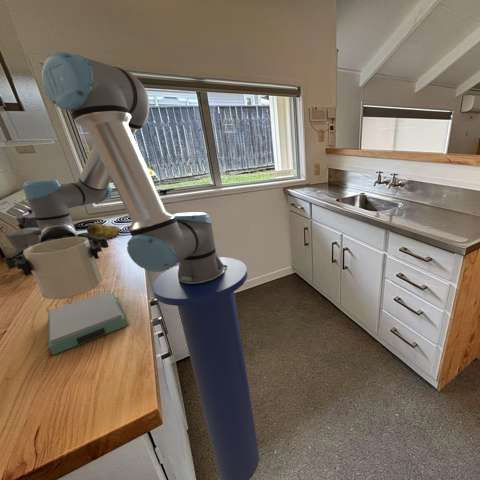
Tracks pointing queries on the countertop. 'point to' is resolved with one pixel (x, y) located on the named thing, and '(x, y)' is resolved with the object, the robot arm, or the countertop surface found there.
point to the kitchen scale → (83, 321)
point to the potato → (103, 230)
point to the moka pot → (28, 220)
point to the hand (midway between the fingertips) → (62, 261)
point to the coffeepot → (24, 237)
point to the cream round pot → (63, 267)
